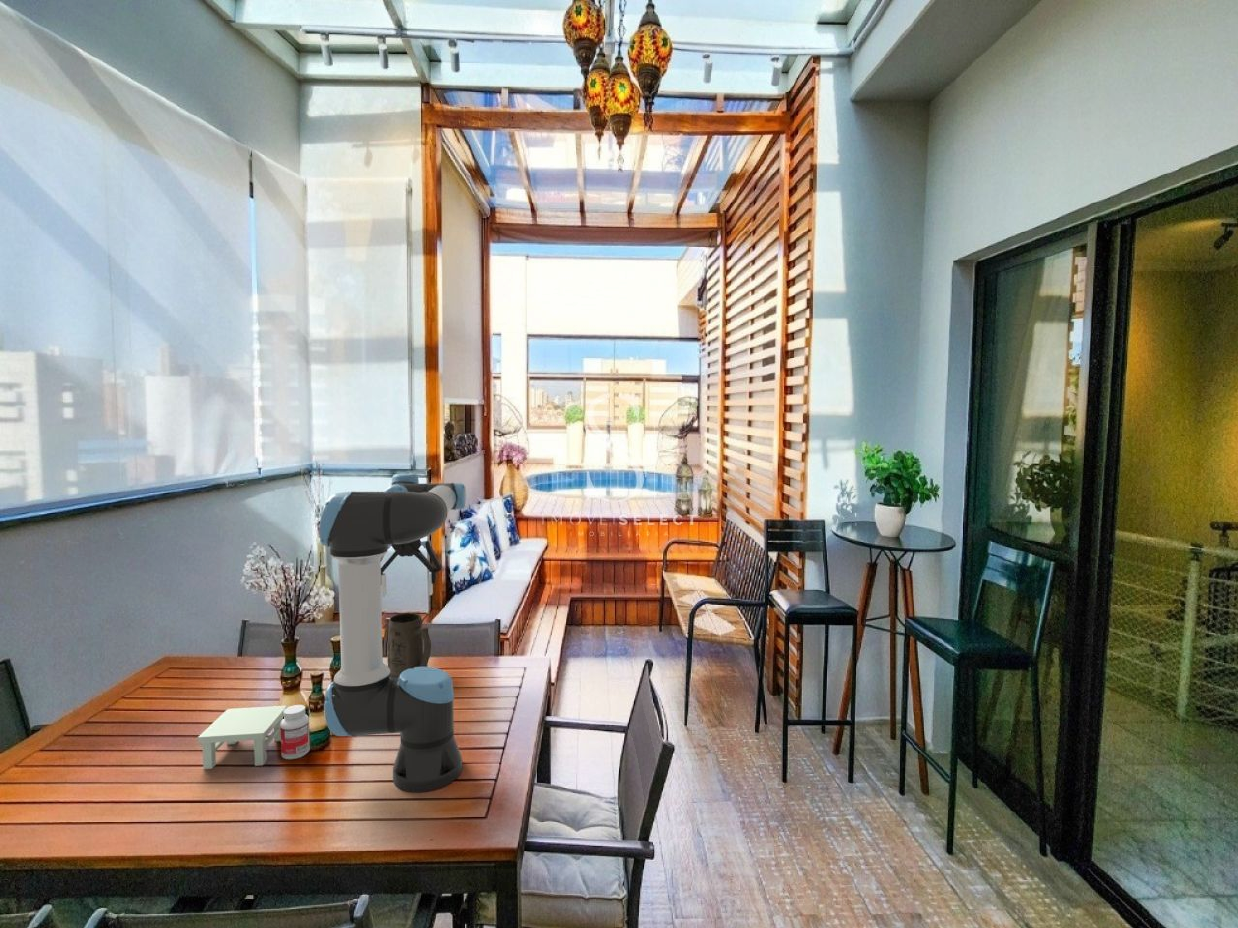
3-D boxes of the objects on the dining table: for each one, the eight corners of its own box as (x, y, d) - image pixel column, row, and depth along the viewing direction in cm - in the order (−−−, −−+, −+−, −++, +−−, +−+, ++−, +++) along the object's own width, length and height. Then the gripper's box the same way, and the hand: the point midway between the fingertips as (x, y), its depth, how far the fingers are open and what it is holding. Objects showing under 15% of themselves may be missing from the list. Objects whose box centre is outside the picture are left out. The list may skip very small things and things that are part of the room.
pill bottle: (288, 747, 150) (286, 703, 150) (314, 745, 151) (312, 702, 150) (276, 760, 144) (275, 715, 143) (303, 759, 145) (302, 714, 144)
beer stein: (378, 683, 187) (380, 619, 186) (400, 669, 198) (402, 609, 196) (421, 693, 183) (424, 628, 181) (441, 678, 193) (444, 617, 191)
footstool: (264, 766, 142) (263, 732, 141) (199, 770, 140) (197, 737, 139) (288, 735, 156) (287, 705, 155) (228, 739, 154) (227, 708, 153)
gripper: (450, 522, 188) (451, 589, 190) (365, 523, 185) (367, 592, 186) (447, 526, 181) (448, 596, 182) (359, 528, 177) (360, 599, 179)
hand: (407, 594), depth 184 cm, fingers open, 13 cm apart
